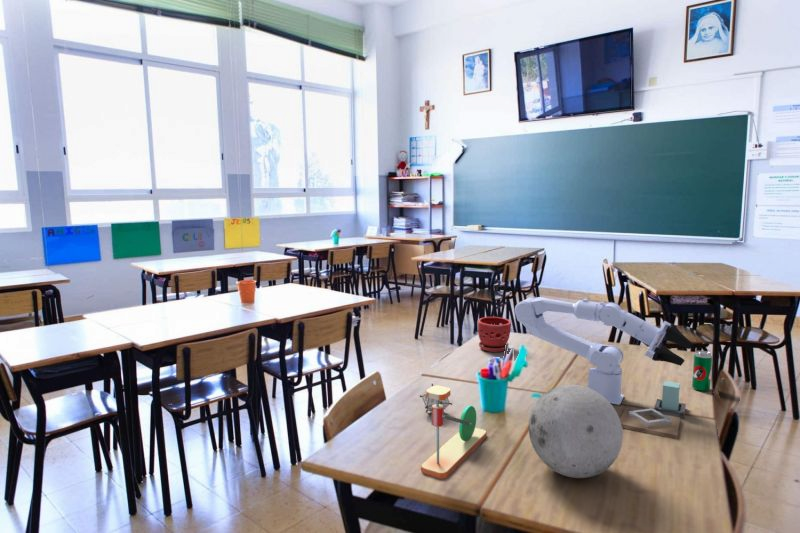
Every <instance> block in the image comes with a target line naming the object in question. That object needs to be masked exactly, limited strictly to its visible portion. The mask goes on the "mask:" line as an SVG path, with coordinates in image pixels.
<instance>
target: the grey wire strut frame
mask: <svg viewBox="0 0 800 533" xmlns="http://www.w3.org/2000/svg"><path fill="white" fill-rule="evenodd" d="M432 386H434V384H433V383H431V387H432ZM419 398H421V399H422V402H423V403H424V409H426V410H425V413H428V411H429V412H431V413H432V405H434V404H436V400H434V399H430V398H428V397H427V396H426V392H425V393H423V394H422V395H421V394H420V395H419ZM439 404H441V405H443V406H444V410H445V409H446V408H448V406H449V405H450V406H452V405H453V403H452V402H450V400H449V397H448V398H446V399H445V400H439Z"/></svg>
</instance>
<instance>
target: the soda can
mask: <svg viewBox="0 0 800 533" xmlns="http://www.w3.org/2000/svg"><path fill="white" fill-rule="evenodd" d="M692 364H693V365H692V366H693V367H692V380H691V387H692V389H693V390H695V391H697V392H698V391H699V392H708V391H710V390H711V383H712V382H711V381H712V370H713V369H712V368H713V367H712V366H713V355H712V352H709V351H707V350H696V351H695V353H694V354H693V363H692Z"/></svg>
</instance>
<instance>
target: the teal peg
mask: <svg viewBox="0 0 800 533" xmlns="http://www.w3.org/2000/svg"><path fill="white" fill-rule="evenodd" d="M680 385H681V383H680V382H673V381H667V380H664V381H663V384H662V394H661V395H662V396H661V400H662V406H661V408H664V409H670V410H675V411H679V409H678V406H679V403H680V388H681V386H680Z"/></svg>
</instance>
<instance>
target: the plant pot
mask: <svg viewBox="0 0 800 533" xmlns="http://www.w3.org/2000/svg"><path fill="white" fill-rule="evenodd" d="M511 327H512V322H511V320H509V319H507V318H505V317H499V316H485V317H484V316H483V317H481V318H479V319H478V321H477V333H478V338H479V340H480V342H478V346H479V348H480V349H481V350H483V351H486V352H491V353H499V352H503V351H505V350H504V349H505V345H506V343H507V344H508V341H509V338H510V334H511V329H512V328H511Z"/></svg>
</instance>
